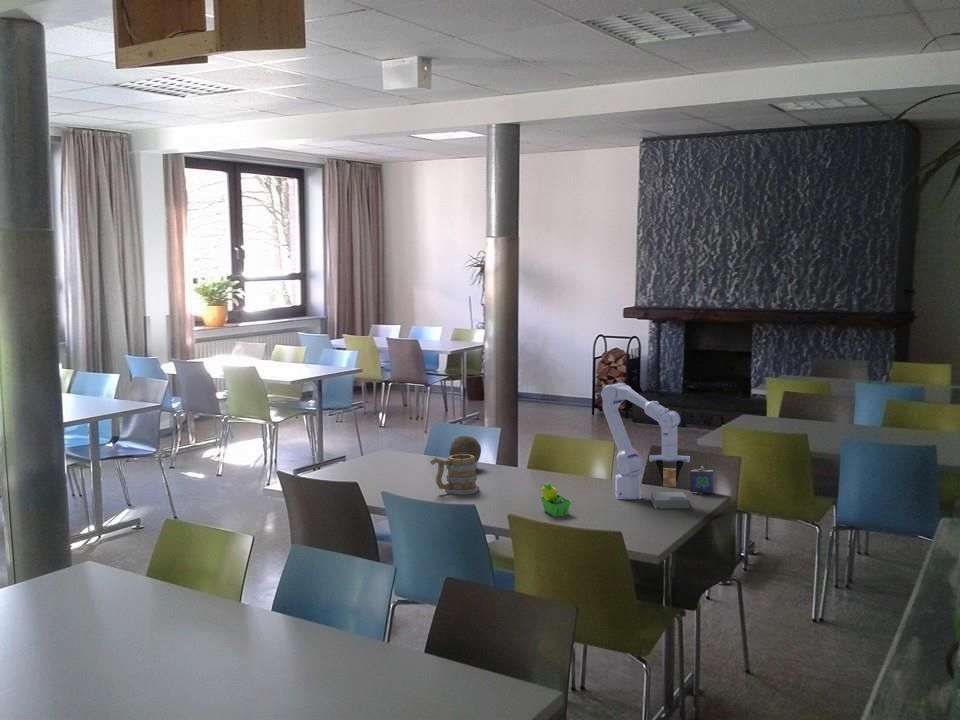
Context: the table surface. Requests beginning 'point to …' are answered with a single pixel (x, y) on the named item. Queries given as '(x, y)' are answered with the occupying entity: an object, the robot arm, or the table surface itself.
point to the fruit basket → (554, 501)
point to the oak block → (669, 477)
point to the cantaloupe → (466, 447)
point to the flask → (702, 481)
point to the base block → (669, 500)
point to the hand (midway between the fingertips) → (669, 480)
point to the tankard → (457, 474)
